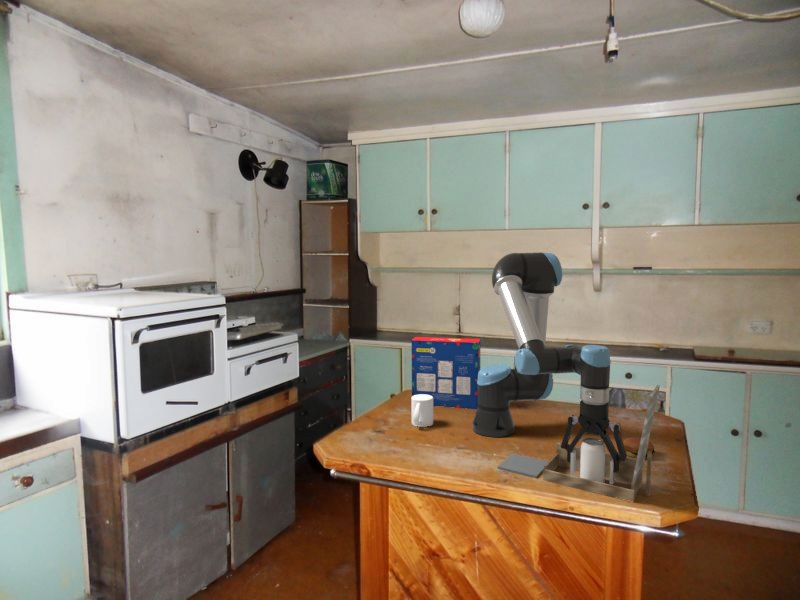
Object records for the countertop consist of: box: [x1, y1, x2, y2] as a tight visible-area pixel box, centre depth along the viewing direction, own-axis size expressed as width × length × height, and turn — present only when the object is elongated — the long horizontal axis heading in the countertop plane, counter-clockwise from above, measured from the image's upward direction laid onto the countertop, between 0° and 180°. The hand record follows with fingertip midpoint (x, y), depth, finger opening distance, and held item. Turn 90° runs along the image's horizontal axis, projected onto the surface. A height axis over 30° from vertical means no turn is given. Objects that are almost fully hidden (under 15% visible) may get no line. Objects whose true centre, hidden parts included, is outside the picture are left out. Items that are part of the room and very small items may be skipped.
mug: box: [410, 394, 434, 428], centre depth 196 cm, size 8×10×12 cm
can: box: [579, 437, 606, 483], centre depth 147 cm, size 6×6×12 cm
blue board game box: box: [411, 336, 481, 410], centre depth 220 cm, size 28×8×28 cm, turn 76°
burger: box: [622, 437, 656, 459], centre depth 167 cm, size 10×9×5 cm
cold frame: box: [542, 384, 661, 502], centre depth 145 cm, size 28×12×29 cm, turn 55°
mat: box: [497, 453, 549, 479], centre depth 159 cm, size 12×12×1 cm
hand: (592, 477), depth 147 cm, fingers open, 10 cm apart
